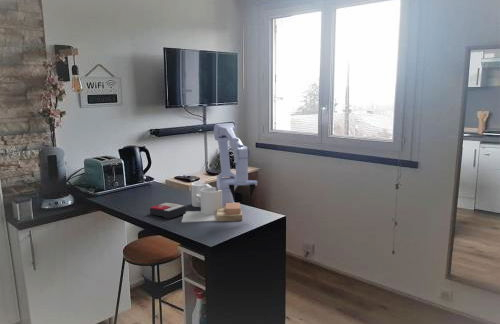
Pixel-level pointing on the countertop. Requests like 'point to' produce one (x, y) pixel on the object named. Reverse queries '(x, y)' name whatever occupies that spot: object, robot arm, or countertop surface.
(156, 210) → the red and grey box
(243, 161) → the robot arm
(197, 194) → the bracket
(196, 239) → the countertop surface
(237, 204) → the tile
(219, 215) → the board
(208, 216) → the mat
